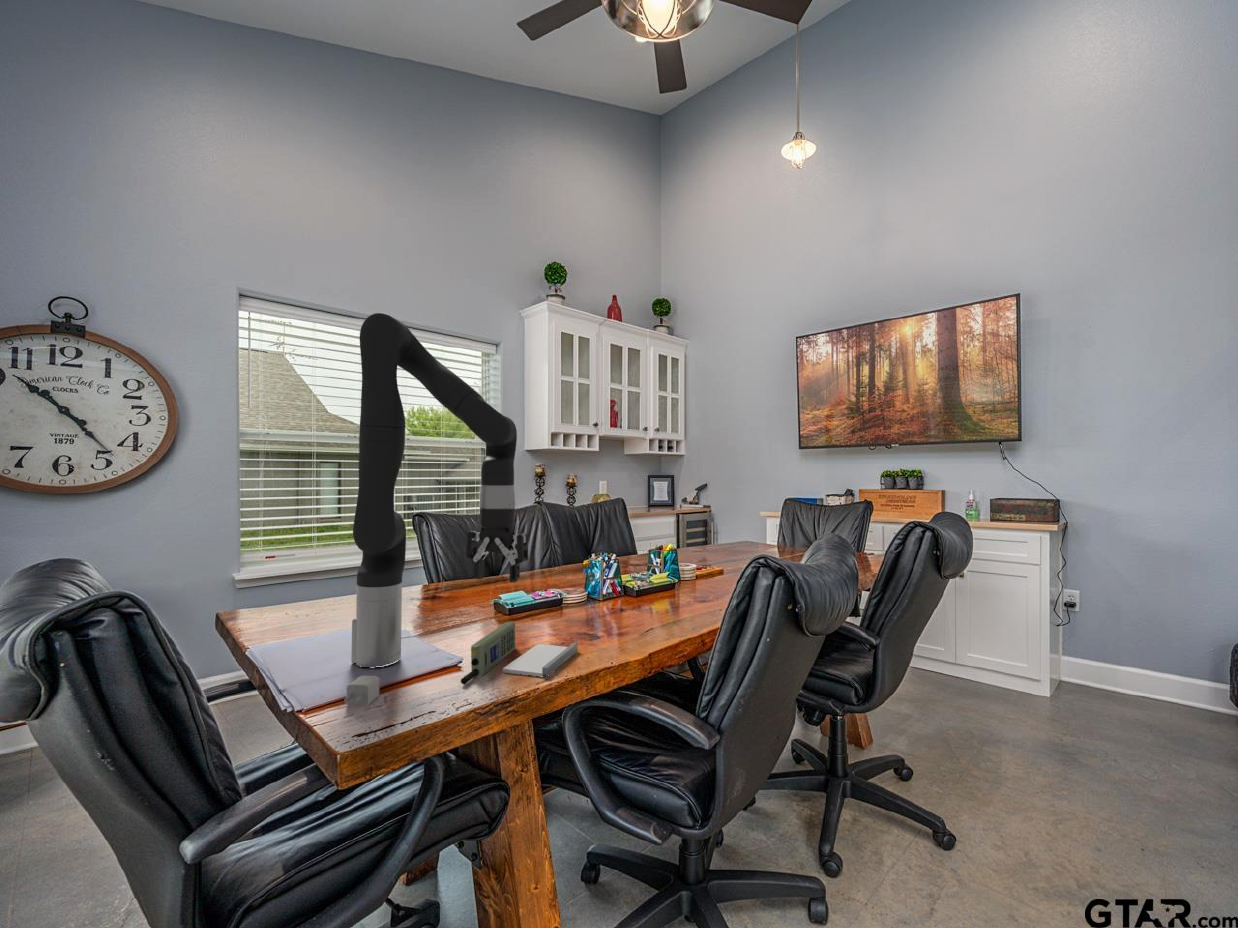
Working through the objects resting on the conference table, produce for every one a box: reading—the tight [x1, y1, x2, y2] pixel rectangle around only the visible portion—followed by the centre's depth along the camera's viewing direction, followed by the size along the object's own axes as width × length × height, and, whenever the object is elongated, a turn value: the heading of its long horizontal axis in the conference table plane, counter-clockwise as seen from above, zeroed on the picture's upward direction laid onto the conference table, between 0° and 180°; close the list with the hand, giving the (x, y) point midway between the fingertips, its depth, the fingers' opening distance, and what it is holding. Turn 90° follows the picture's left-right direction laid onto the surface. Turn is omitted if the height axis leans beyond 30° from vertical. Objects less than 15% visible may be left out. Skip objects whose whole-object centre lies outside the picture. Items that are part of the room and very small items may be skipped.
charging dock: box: [502, 642, 579, 678], centre depth 130 cm, size 10×18×2 cm, turn 164°
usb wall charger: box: [343, 675, 380, 708], centre depth 106 cm, size 4×7×4 cm, turn 178°
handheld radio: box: [460, 621, 517, 685], centre depth 127 cm, size 7×3×25 cm
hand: (496, 580), depth 128 cm, fingers open, 8 cm apart
